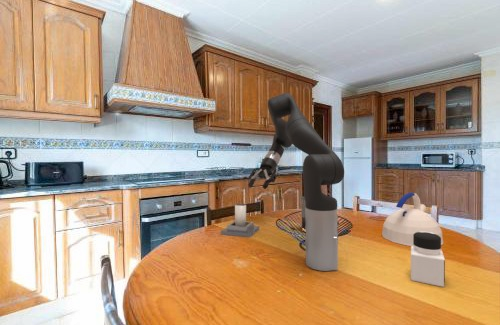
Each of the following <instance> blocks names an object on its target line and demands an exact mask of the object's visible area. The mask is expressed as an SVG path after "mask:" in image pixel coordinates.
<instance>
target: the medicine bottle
mask: <svg viewBox="0 0 500 325" xmlns="http://www.w3.org/2000/svg"><path fill="white" fill-rule="evenodd" d="M445 271H446V259H445V256H444V253H443V250H442V245H441V237H440V236H438V235H436V234H434V233H430V232H416V233H414V234H413V246H410V280H411V281H412V282H417V283H423V284H427V285H431V286H437V287H442V288H445V286H446V281H445V280H446V279H445V278H446V277H445V276H446V272H445Z"/></svg>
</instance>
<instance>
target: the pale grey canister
mask: <svg viewBox="0 0 500 325" xmlns="http://www.w3.org/2000/svg"><path fill="white" fill-rule="evenodd" d="M234 221H235V226H244V227H245V226H246V221H247V204H245V203H243V204H242V203H236V204H235V205H234Z"/></svg>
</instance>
